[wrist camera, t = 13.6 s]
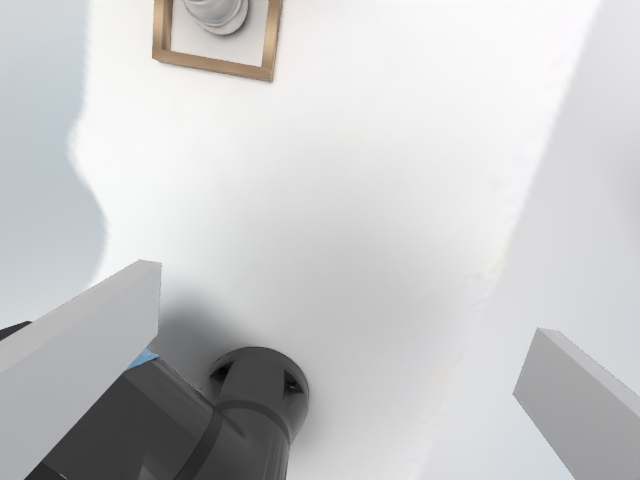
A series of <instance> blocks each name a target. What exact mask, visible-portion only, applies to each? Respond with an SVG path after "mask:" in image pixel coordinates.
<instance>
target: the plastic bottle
mask: <svg viewBox="0 0 640 480" xmlns="http://www.w3.org/2000/svg"><path fill="white" fill-rule="evenodd" d="M182 1H183V3H184V4H185V6H186V8H187V10H188V12H189V13H190V15H191V16H192V18H193V19H194V21H195V22H196V23H197V24H198V25H199V26H201V27H202V28H204V29H205V30H207V31H210V32H212V33H215V34H219V35H226V34H230V33H232V32H234V31H236V30H237V29H238V28H239V27H240V26H241V25H242V23H243V22H244V20H245V18H246V15H247V11H248V0H182Z"/></svg>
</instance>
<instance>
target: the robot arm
mask: <svg viewBox="0 0 640 480" xmlns="http://www.w3.org/2000/svg"><path fill="white" fill-rule="evenodd" d="M161 267H162V263H157V262H151V261H145V260H140V259H139V260H138V261H136V262H134V263H133V264H131V265H129V266H128V267H126V268H124V269H122V270H121V271H119V272H117V273H116V274H114V275H112V276H110V277H109V278H107V279H105V280H104V281H102V282H100V283H99V284H97V285H95V286H93V287H92V288H90V289H88V290H87V291H85V292H83V293H82V294H80V295H78V296H76V297H75V298H73V299H71V300H70V301H68V302H66V303H65V304H63V305H61V306H60V307H58V308H56V309H54V310H53V311H51V312H49V313H48V314H46V315H44V316H42V317H41V318H39V319H37V320H36V321H34V322H30V321H26V322H23V323H20V324H17V325H14V326H11V327H8V328H5V329H2V330H0V480H286V474H287V466H288V457H289V449H290V445H291V443H292V441H293V440H294V438H295V436H296V434H297V433H298V431H299V429H300V427H301V426H302V424H303V422H304V420H305V417H306V414H307V409H308V400H309V390H308V385H307V381H306V379H305V377H304V375H303V373H302V371H301V370H300V369H299V367H298V366H297V365H296V364H295V363H294V362H293V361H292V360H290V359H289V358H288V357H286V356H284V355H283V354H281V353H279V352H276V351H274V350H270V349H266V348H260V347H247V348H241V349H237V350H234V351H232V352H230V353H228V354H226V355H224V356H223V357H222V358H220V359H219V360H218V361H217V362H216V363H215V364H214V366H213V367H212V369H211V370H210V372H209V374H208V376H207V378H206V380H205V382H204V384H203V388H202V392H201V394H200V393H199V392H198V391H196V390H195V389H194V388H193V387H192V386H191V385H189V384H188V383H187V382H186V381H185V380H184V379H182V378H181V377H180V376H179V375H178V374H177V373H176V372H175V371H173V370H172V369H171V368H170V367H169V366H168V365H167V364H166V363H164V362H163V361H162V360H161V359H160V356H159V355H158V354H154V353H152V352H151V351H150V350H148V349H147V348H146V347H147V346H148V345H149V343H150V342H151V341H152V340H153V339H154V338H155V337H156V336H157V335H158V321H159V303H160V285H161ZM513 395H514V397H515V398H516V399H517V401H518V402H519V404H520V405H521V406H522V408H523V409H524V410H525V412H526V413H527V414H528V416H529V417H530V418H531V420H532V421H533V423H534V424H535V425H536V427H537V428H538V429H539V431H540V432H541V433H542V435H543V436H544V437H545V439H546V440H547V442H548V443H549V444H550V446H551V447H552V448H553V450H554V451H555V452H556V454H557V455H558V456H559V458H560V459H561V461H562V462H563V463H564V465H565V466H566V467H567V468H568V470H569V472H570V473H571V474H572V476H573V477H574V478H575V480H640V396H638V395H637V394H636V393H635V392H633V391H632V390H631V389H630V388H628V387H627V386H626V385H625V384H624V383H622V382H621V381H620V380H619V379H617V378H616V377H615V376H614V375H612V374H611V373H610V372H609V371H607V370H606V369H605V368H604V367H603V366H601V365H600V364H599V363H598V362H596V361H595V360H594V359H593V358H591V357H590V356H589V355H587V354H586V353H585V352H584V351H583V350H581V349H580V348H579V347H578V346H576V345H575V344H574V343H573V342H572V341H570V340H569V339H568V338H567V337H565V336H564V335H563V334H562V333H560V332H559V331H555V330H549V329H543V328H537V330H536V333H535V335H534V338H533V340H532V343H531V346H530V349H529V351H528V354H527V357H526V359H525V362H524V365H523V367H522V370H521V373H520V376H519V378H518V381H517V384H516V387H515V389H514V392H513Z"/></svg>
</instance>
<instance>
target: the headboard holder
mask: <svg viewBox="0 0 640 480" xmlns="http://www.w3.org/2000/svg"><path fill="white" fill-rule="evenodd" d="M172 2H173V0H154V22H153V46H152V58H153V59H155V60H157V61H159V62H163V63H169V64H174V65H180V66H185V67H191V68H196V69H202V70H208V71H213V72H219V73H224V74H230V75H236V76H241V77H247V78H252V79H258V80H263V81H269V82H272V79H273V71H274V63H275V55H276V47H277V39H278V31H279V23H280V15H281V7H282V0H269V6H268V14H267V23H266V32H265V40H264V49H263V57H262V66H261V67H256V66H251V65H245V64H240V63H234V62H228V61H223V60H217V59H212V58H206V57H201V56H195V55H190V54H184V53H178V52H173V51H170V39H171V21H172Z"/></svg>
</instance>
